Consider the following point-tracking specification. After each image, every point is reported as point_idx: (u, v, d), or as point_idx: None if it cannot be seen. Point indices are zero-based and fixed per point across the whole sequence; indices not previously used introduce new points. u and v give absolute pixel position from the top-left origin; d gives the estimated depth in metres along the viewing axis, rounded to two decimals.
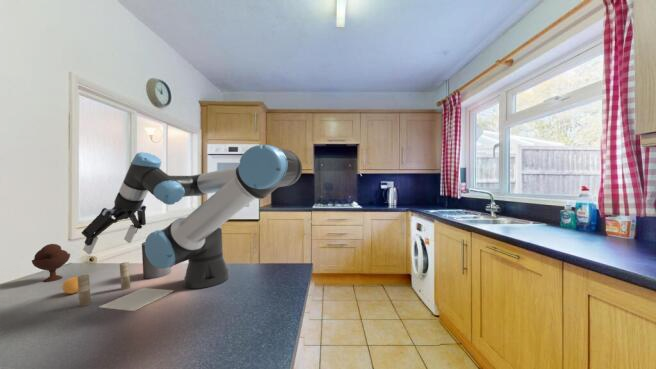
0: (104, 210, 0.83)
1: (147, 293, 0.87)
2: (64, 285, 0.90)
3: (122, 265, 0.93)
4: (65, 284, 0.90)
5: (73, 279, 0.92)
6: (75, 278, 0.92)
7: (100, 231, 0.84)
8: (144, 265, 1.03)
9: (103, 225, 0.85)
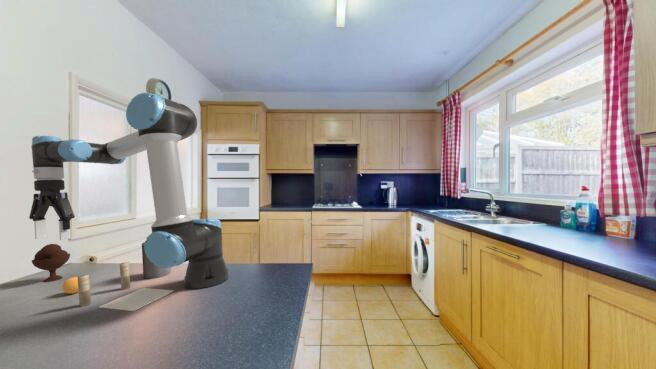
0: (61, 193, 0.93)
1: (147, 293, 0.87)
2: (64, 285, 0.90)
3: (122, 265, 0.93)
4: (65, 284, 0.90)
5: (73, 279, 0.92)
6: (75, 278, 0.92)
7: None
8: (144, 265, 1.03)
9: None
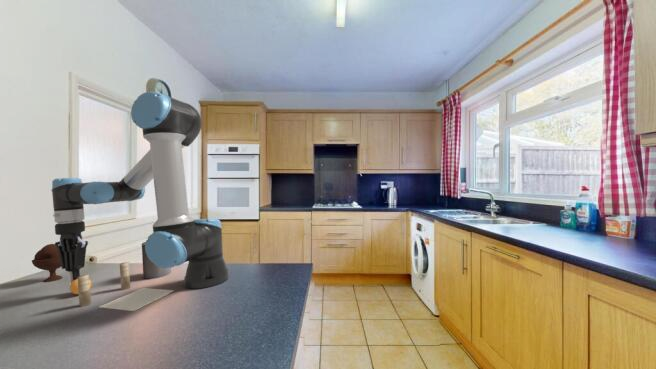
0: (82, 244, 0.90)
1: (147, 293, 0.87)
2: (73, 287, 0.89)
3: (122, 265, 0.93)
4: (74, 287, 0.89)
5: None
6: None
7: None
8: (144, 265, 1.03)
9: None
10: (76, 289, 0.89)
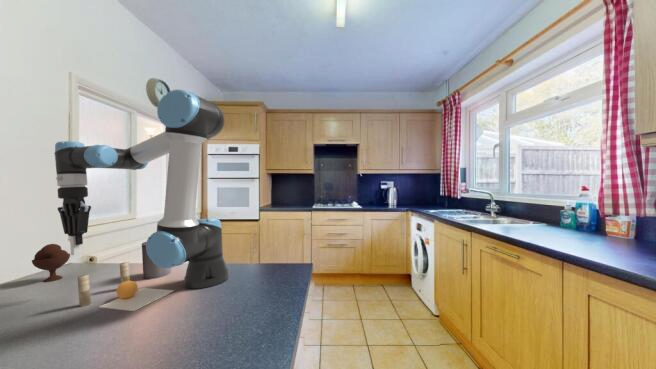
0: (85, 208, 0.89)
1: (147, 293, 0.87)
2: (120, 295, 0.83)
3: (122, 265, 0.93)
4: (120, 296, 0.83)
5: (126, 298, 0.85)
6: (129, 297, 0.85)
7: None
8: (144, 265, 1.03)
9: None
10: None
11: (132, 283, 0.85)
